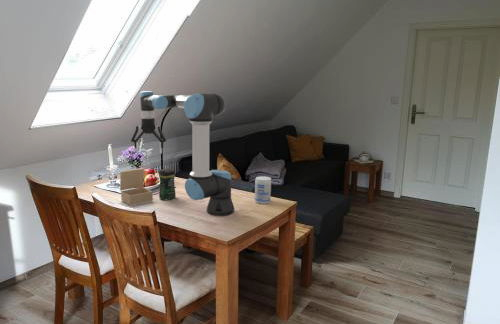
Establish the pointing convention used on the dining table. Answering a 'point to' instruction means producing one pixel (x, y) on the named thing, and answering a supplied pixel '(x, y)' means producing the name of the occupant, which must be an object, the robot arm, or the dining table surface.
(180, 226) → the dining table surface
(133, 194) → the mailer box
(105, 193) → the dining table surface
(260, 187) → the supplement tub
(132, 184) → the lid
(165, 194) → the coffee jar
